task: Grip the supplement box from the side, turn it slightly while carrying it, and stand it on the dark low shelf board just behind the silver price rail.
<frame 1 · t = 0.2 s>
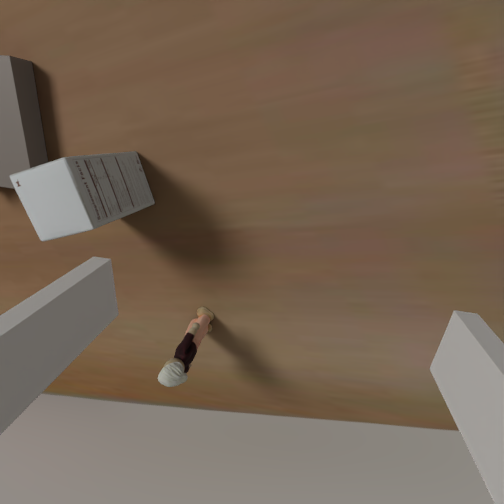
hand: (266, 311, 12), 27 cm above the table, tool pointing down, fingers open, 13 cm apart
shelf board: (6, 125, 42), on the table
grandmother figurine: (204, 321, 47), on the table
supplement box: (126, 184, 42), on the table
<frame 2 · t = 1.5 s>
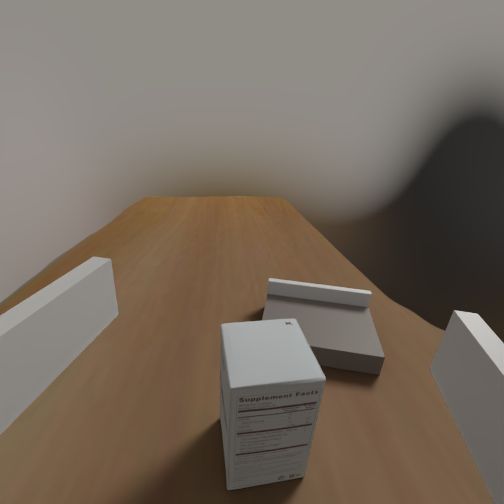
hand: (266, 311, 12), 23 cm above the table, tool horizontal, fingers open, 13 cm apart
shelf board: (315, 335, 45), on the table
supplement box: (258, 447, 30), on the table
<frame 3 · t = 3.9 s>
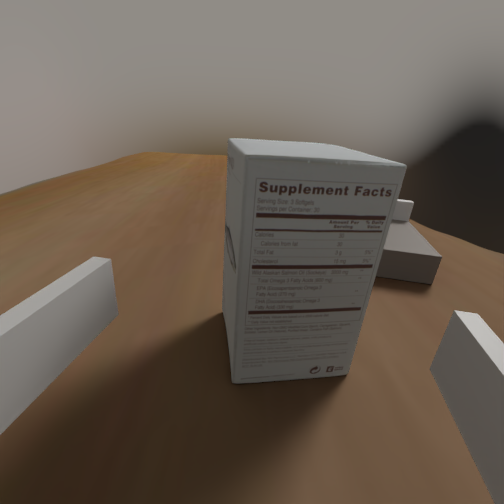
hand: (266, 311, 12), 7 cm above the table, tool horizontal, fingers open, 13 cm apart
shelf board: (342, 249, 36), on the table
supplement box: (277, 342, 21), on the table
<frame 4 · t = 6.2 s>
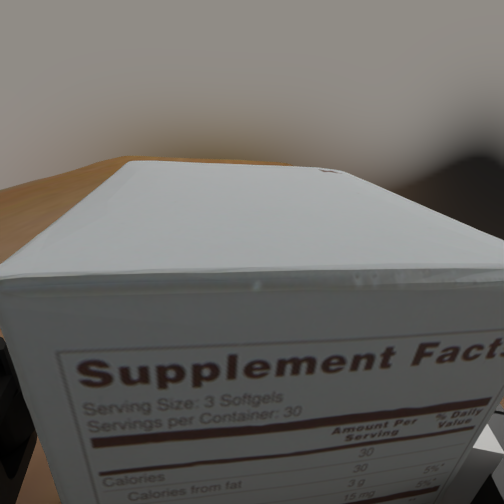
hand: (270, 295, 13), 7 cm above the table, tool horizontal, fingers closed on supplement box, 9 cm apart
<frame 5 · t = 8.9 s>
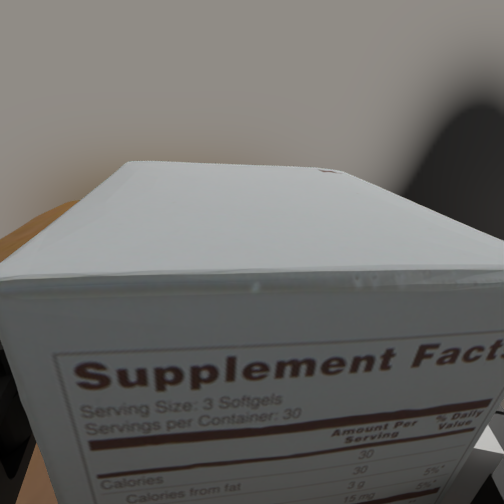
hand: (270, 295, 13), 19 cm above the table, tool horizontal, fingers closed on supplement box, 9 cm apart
when the fingers open (11 cm above the table, at t = 11.9 s): supplement box drops 1 cm, resting on shelf board.
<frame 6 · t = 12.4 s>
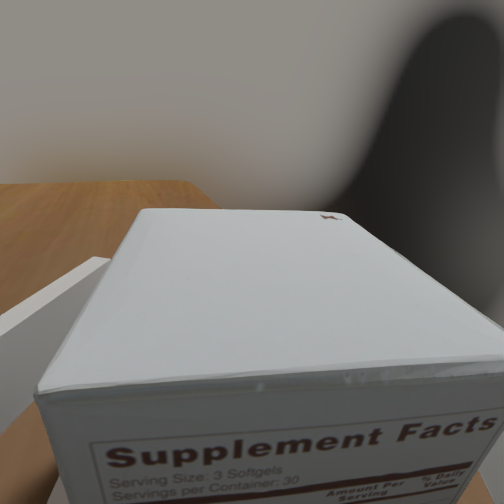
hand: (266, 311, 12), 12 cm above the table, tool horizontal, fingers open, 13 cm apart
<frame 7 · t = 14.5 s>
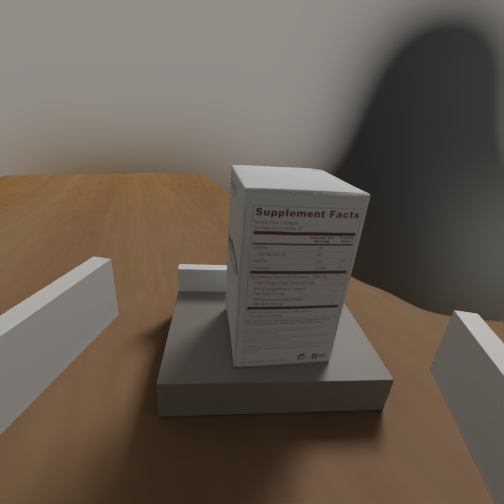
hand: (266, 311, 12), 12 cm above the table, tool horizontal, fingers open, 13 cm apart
shelf board: (264, 351, 27), on the table
supplement box: (271, 334, 24), point 3 cm above the table, touching shelf board
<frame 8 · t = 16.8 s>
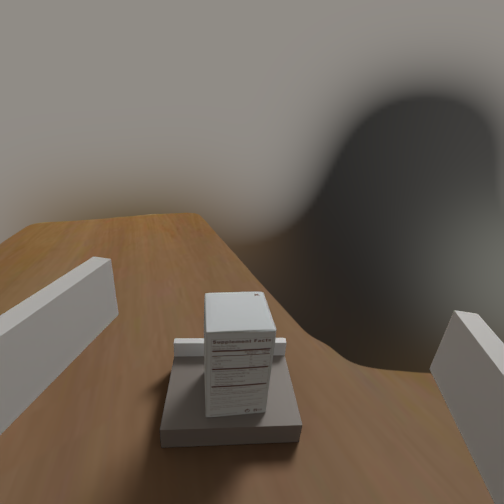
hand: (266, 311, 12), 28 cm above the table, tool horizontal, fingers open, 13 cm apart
shelf board: (230, 400, 40), on the table
supplement box: (233, 392, 38), point 3 cm above the table, touching shelf board
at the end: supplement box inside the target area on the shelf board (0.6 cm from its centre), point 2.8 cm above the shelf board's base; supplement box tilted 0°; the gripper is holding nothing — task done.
